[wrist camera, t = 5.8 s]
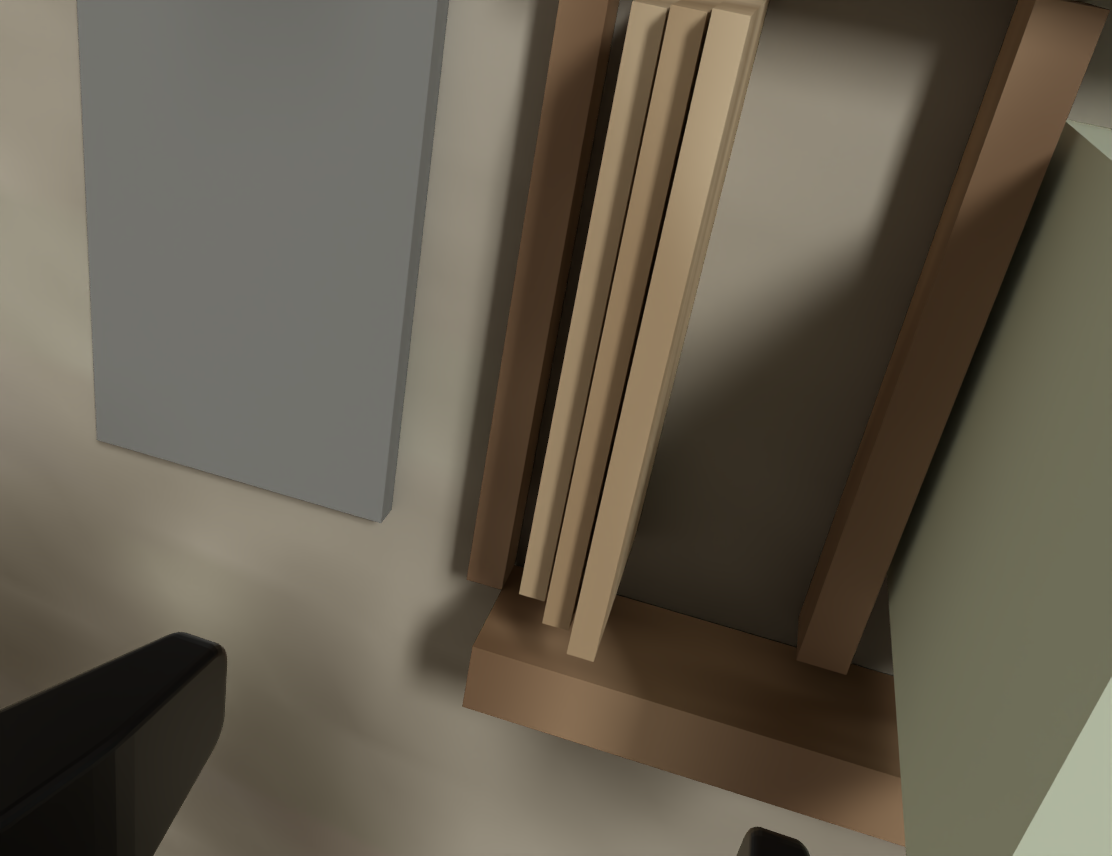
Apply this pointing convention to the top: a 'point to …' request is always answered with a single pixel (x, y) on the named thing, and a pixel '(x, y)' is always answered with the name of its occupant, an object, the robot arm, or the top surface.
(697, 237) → the offcut bundle
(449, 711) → the top surface
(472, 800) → the top surface
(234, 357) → the grey mat
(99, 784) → the robot arm
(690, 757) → the walnut rack
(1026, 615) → the pale green block
